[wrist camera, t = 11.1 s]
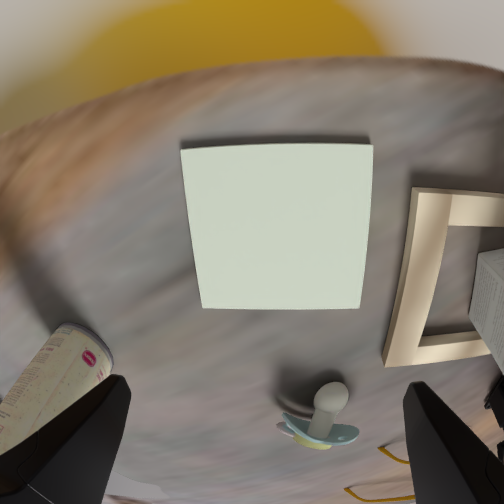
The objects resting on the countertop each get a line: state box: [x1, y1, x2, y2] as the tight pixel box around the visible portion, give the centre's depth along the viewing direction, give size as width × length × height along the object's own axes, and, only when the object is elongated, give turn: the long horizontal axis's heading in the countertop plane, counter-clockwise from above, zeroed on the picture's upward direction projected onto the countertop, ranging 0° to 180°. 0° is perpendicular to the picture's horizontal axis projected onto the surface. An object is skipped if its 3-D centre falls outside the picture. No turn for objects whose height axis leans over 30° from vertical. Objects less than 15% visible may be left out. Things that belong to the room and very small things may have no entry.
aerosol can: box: [0, 323, 114, 455], centre depth 19 cm, size 7×7×20 cm
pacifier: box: [276, 382, 359, 449], centre depth 26 cm, size 7×6×6 cm
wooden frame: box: [382, 187, 504, 367], centre depth 19 cm, size 17×14×1 cm
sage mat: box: [180, 143, 373, 309], centre depth 20 cm, size 11×11×1 cm
